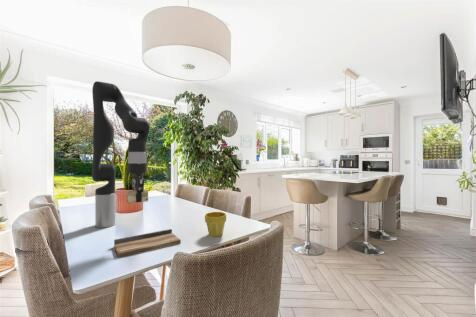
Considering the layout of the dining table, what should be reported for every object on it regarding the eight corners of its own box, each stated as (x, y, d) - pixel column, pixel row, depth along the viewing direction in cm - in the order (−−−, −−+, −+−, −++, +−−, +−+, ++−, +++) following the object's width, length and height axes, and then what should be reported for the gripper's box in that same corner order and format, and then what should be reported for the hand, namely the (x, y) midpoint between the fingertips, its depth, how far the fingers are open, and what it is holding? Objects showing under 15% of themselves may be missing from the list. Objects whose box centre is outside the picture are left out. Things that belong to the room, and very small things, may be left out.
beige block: (126, 202, 99) (126, 190, 99) (145, 200, 103) (145, 189, 103) (128, 203, 95) (128, 191, 95) (148, 201, 100) (148, 190, 100)
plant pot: (200, 236, 106) (200, 215, 106) (211, 229, 116) (211, 210, 115) (219, 239, 102) (219, 218, 102) (229, 232, 111) (229, 212, 111)
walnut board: (114, 246, 93) (114, 239, 93) (171, 235, 107) (171, 228, 107) (118, 257, 83) (118, 249, 83) (180, 243, 97) (180, 236, 97)
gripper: (125, 162, 103) (125, 199, 103) (131, 162, 91) (131, 204, 91) (142, 162, 107) (142, 198, 107) (150, 162, 96) (150, 202, 96)
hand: (137, 201), depth 99 cm, fingers closed on beige block, 4 cm apart
